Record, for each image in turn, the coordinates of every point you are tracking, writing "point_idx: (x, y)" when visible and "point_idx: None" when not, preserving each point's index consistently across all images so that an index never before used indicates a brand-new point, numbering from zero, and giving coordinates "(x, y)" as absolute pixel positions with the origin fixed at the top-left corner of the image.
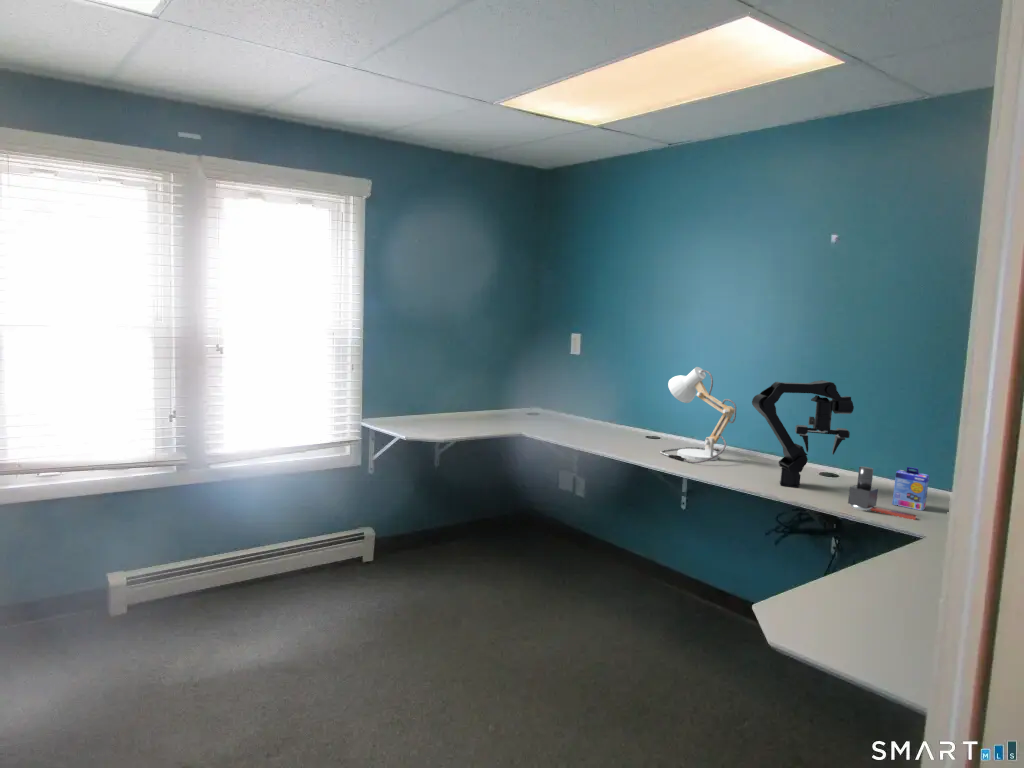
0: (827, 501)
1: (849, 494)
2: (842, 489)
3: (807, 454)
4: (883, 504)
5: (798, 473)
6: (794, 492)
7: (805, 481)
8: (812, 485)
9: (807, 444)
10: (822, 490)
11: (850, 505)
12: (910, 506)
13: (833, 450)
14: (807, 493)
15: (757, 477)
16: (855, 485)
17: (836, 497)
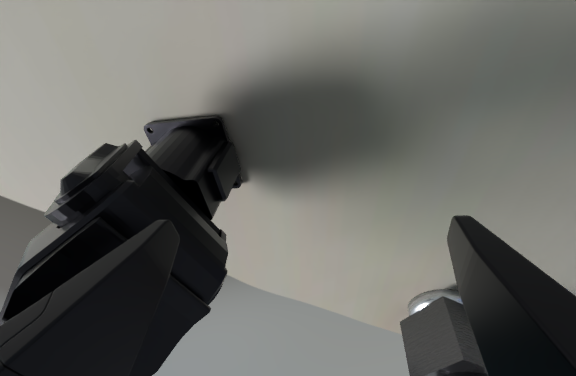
0: (346, 286)
1: (406, 352)
2: (463, 86)
3: (207, 313)
4: (564, 252)
5: (214, 211)
6: (242, 242)
7: (250, 4)
8: (296, 93)
9: (133, 346)
10: (342, 168)
11: (408, 310)
12: None
13: (464, 302)
14: (284, 235)
15: (34, 88)
16: (440, 370)
17: (386, 239)
